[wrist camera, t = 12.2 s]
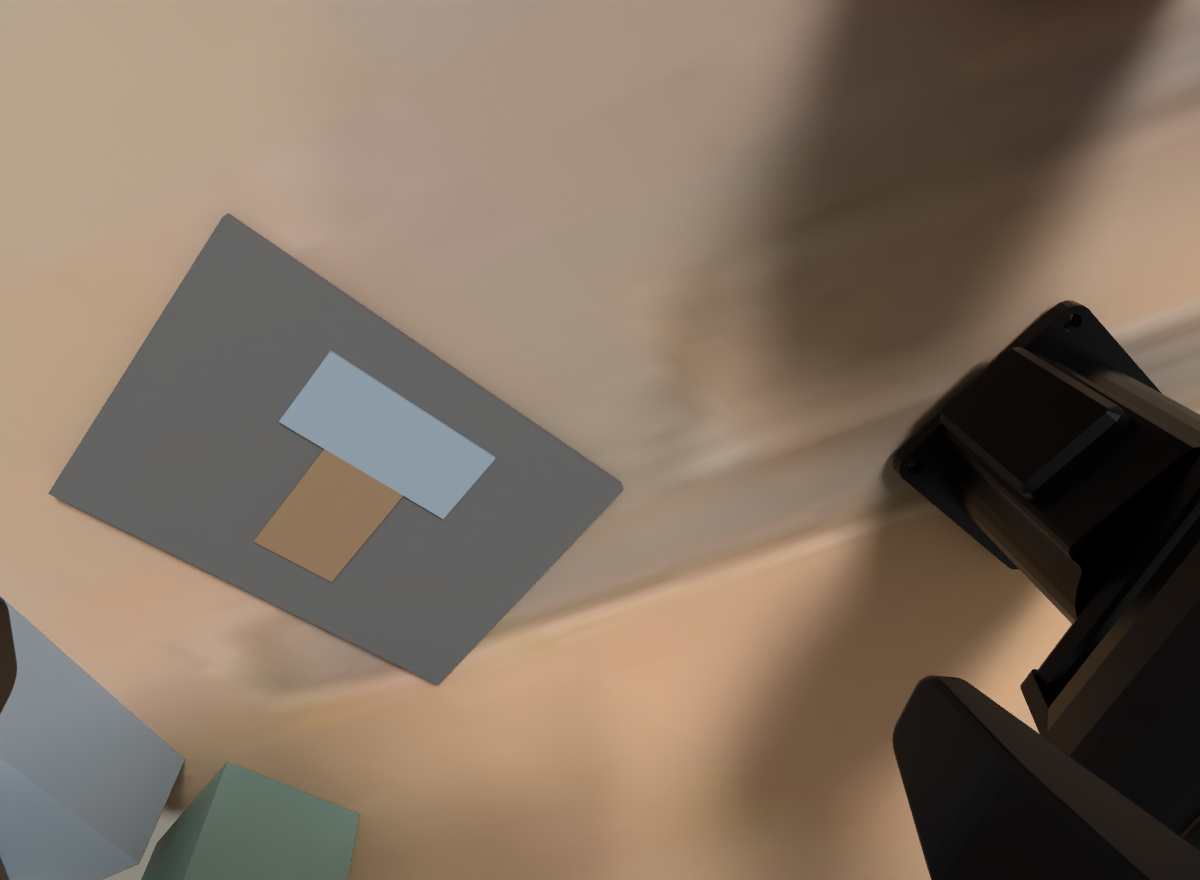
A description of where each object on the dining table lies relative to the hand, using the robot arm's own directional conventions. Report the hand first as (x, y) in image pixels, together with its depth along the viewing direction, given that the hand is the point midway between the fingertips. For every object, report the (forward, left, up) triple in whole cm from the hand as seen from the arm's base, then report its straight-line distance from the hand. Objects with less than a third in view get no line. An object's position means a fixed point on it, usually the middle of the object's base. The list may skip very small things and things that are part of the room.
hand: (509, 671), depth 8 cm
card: (0, +7, -13) cm, 15 cm away
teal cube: (-5, +21, -13) cm, 25 cm away
